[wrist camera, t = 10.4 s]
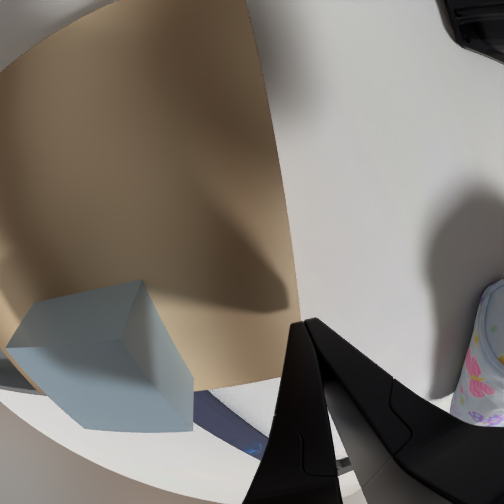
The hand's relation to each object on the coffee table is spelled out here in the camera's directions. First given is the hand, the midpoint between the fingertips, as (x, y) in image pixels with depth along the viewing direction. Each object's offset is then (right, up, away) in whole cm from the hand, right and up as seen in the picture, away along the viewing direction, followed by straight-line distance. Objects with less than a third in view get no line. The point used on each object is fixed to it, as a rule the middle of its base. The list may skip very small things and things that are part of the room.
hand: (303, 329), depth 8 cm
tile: (-7, -1, +1) cm, 7 cm away
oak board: (-8, +3, +1) cm, 9 cm away
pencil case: (+20, -7, +10) cm, 24 cm away
